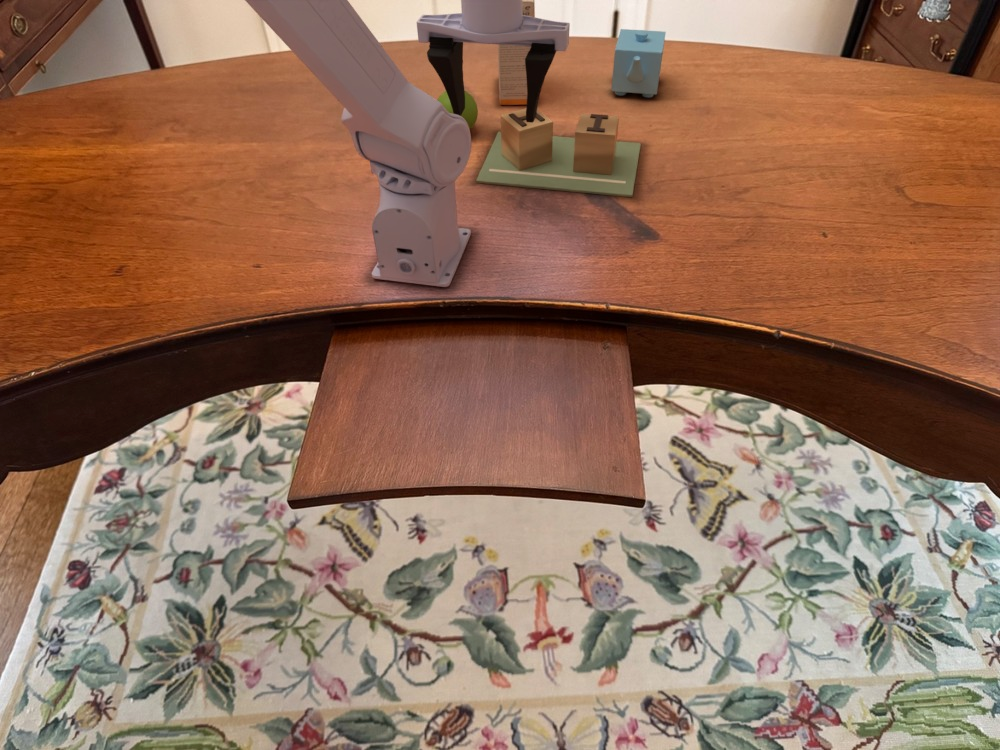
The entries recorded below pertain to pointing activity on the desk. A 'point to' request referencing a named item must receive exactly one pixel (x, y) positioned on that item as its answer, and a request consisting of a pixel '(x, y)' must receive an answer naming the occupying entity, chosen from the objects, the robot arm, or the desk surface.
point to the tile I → (595, 144)
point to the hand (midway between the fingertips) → (495, 115)
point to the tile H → (526, 139)
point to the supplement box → (514, 67)
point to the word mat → (564, 170)
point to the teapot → (638, 62)
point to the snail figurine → (469, 111)
